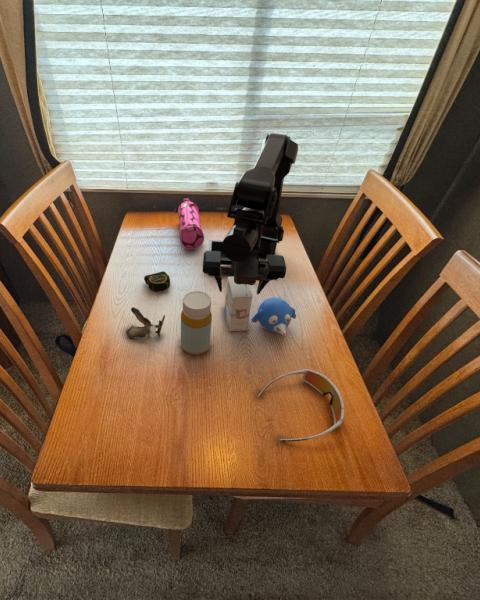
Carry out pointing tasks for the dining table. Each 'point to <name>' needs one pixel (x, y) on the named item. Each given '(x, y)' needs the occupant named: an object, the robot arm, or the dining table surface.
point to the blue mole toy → (275, 315)
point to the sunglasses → (324, 388)
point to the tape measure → (158, 281)
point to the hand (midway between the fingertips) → (239, 292)
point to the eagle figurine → (148, 328)
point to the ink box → (237, 305)
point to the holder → (216, 246)
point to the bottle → (196, 322)
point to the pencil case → (189, 225)
